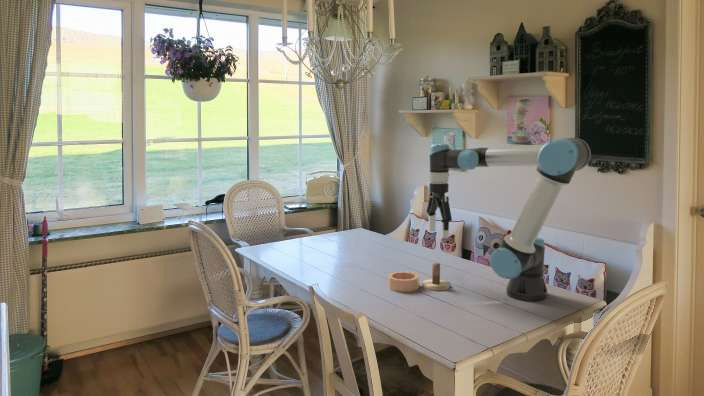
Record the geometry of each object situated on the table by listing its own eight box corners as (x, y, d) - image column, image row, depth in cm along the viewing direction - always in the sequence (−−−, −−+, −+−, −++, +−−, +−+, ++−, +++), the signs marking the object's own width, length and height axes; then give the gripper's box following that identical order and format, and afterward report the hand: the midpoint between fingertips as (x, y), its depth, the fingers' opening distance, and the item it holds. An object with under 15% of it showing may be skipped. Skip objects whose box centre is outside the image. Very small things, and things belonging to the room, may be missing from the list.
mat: (452, 291, 209) (452, 289, 209) (428, 293, 208) (428, 290, 208) (443, 283, 219) (443, 281, 219) (420, 285, 217) (420, 283, 217)
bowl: (422, 292, 208) (422, 279, 207) (392, 294, 206) (393, 281, 205) (413, 283, 220) (413, 270, 219) (385, 285, 218) (385, 272, 217)
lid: (453, 289, 209) (454, 266, 208) (427, 291, 207) (427, 268, 206) (444, 281, 220) (444, 259, 218) (418, 282, 218) (418, 261, 216)
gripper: (461, 185, 200) (460, 240, 203) (435, 178, 224) (435, 227, 227) (442, 186, 199) (441, 241, 202) (419, 179, 223) (418, 228, 226)
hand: (438, 234), depth 215 cm, fingers open, 13 cm apart
